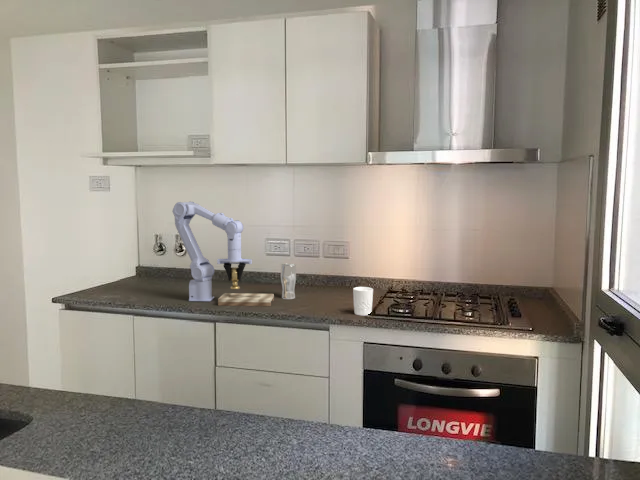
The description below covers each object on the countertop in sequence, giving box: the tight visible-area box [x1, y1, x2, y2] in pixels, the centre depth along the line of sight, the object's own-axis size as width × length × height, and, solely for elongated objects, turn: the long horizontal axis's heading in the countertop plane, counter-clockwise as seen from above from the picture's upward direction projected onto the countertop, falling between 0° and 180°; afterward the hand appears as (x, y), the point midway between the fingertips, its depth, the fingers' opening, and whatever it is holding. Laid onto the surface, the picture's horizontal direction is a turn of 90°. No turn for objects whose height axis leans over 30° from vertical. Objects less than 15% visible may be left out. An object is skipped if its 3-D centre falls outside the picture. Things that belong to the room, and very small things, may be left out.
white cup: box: [352, 286, 374, 317], centre depth 206 cm, size 8×8×10 cm
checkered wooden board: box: [217, 292, 275, 307], centre depth 224 cm, size 22×12×3 cm, turn 88°
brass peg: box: [230, 266, 241, 290], centre depth 224 cm, size 4×4×9 cm
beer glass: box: [280, 263, 297, 300], centre depth 234 cm, size 7×7×15 cm
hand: (234, 280), depth 224 cm, fingers closed on brass peg, 4 cm apart
